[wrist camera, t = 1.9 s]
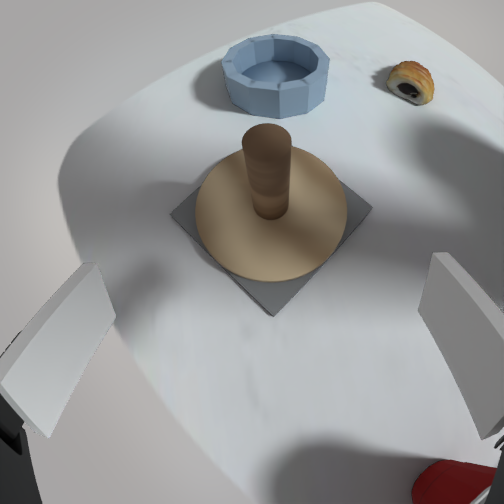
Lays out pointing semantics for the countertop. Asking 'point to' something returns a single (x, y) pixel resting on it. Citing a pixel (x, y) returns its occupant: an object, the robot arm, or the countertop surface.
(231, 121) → the countertop surface
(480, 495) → the plastic cup
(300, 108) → the bowl
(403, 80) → the pastry
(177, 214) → the mat
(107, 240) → the countertop surface
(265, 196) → the lid
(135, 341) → the countertop surface
